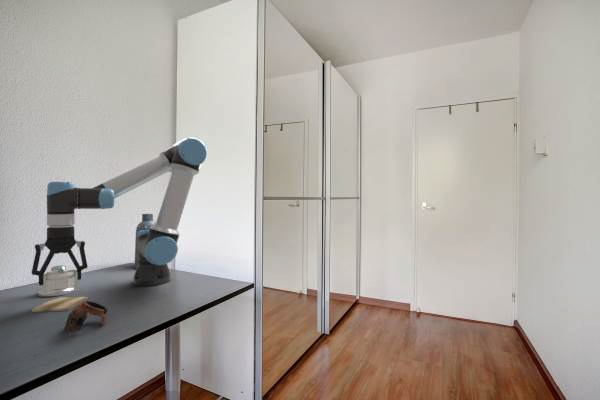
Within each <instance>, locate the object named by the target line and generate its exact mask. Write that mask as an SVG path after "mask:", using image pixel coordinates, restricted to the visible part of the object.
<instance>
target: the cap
mask: <svg viewBox="0 0 600 400" xmlns="http://www.w3.org/2000/svg"><path fill="white" fill-rule="evenodd" d="M75 270H76V269H73V268H66V269H63V267H58V270H54V271H47V272H46V273H45V274H46V289H50V290H57V289H63V288H68V287H71V286H74V285H75Z"/></svg>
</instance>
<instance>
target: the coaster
mask: <svg viewBox="0 0 600 400" xmlns="http://www.w3.org/2000/svg"><path fill="white" fill-rule="evenodd" d="M87 300H88V296H71V297H70V296H69V297H52V299H49V300H47V301H46V302H44V303H41V304H40V305H38V306H35V307H33V308H31V313H32V312H34V313H35V312H58V311H59V312H60V311H62V312H64V311H70V310H73V309H74V308H76V307H77V306H79V305H81V304H82V303H83V301H87Z"/></svg>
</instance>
